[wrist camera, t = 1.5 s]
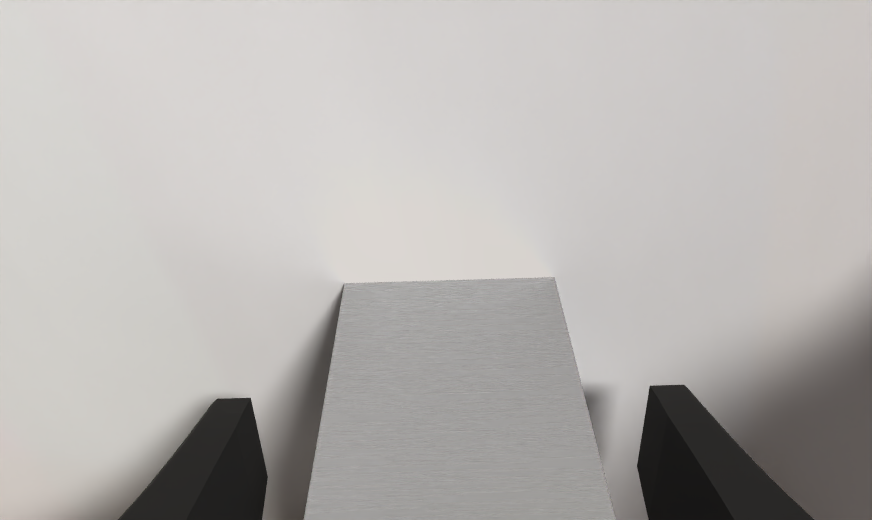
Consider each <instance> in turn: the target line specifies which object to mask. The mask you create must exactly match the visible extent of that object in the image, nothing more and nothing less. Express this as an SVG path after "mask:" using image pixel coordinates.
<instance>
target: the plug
mask: <svg viewBox="0 0 872 520" xmlns="http://www.w3.org/2000/svg"><path fill="white" fill-rule="evenodd" d="M304 520H616V518H615V514H614V510H613V506H612V502H611V498H610V494H609V490H608V486H607V482H606V478H605V474H604V471H603V467H602V463H601V459H600V455H599V451H598V447H597V443H596V439H595V435H594V431H593V427H592V423H591V419H590V415H589V411H588V407H587V404H586V400H585V396H584V392H583V388H582V384H581V380H580V376H579V372H578V368H577V364H576V360H575V356H574V352H573V348H572V344H571V341H570V337H569V333H568V329H567V325H566V321H565V317H564V313H563V309H562V305H561V301H560V297H559V293H558V289H557V285H556V281H555V277H549V278H515V279H481V280H446V281H412V282H378V283H344V289H343V294H342V300H341V306H340V312H339V318H338V323H337V329H336V335H335V341H334V347H333V353H332V358H331V364H330V370H329V376H328V382H327V387H326V393H325V399H324V405H323V411H322V417H321V422H320V428H319V434H318V440H317V446H316V451H315V457H314V463H313V469H312V475H311V480H310V486H309V492H308V498H307V504H306V510H305V515H304Z"/></svg>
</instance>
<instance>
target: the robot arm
mask: <svg viewBox="0 0 872 520" xmlns="http://www.w3.org/2000/svg"><path fill="white" fill-rule="evenodd" d="M637 468H638V472H639V477H640V482H641V487H642V492H643V496H644V501H645V505H646V509H647V514H648V518H649V520H814V519H813V518H812V517H811V516H810V515H809V514H808V513H806V512H805V511H804V510H803V509H802V508H801V507H800V506H799V505H798V504H797V503H796V502H795V501H794V500H793V499H791V498H790V497H789V496H788V495H787V494H786V493H785V492H784V491H783V490H782V489H781V488H780V487H779V486H778V485H777V484H776V483H775V482H774V481H773V480H772V479H771V478H770V477H769V476H768V475H767V474H766V473H765V472H764V471H763V470H762V469H761V468H760V467H759V466H758V465H757V464H756V463H755V462H754V461H753V460H752V459H751V458H750V457H749V456H748V455H747V454H746V453H745V451H744V450H743V449H742V448H741V447H740V446H739V445H738V444H737V443H736V442H735V441H734V440H733V439H732V437H731V436H730V435H729V434H728V433H727V432H726V431H725V430H724V429H723V428H722V426H721V425H720V424H719V423H718V422H717V421H716V420H715V419H714V417H713V416H712V415H711V414H710V413H709V412H708V411H707V410H706V408H705V407H704V406H703V405H702V404H701V403H700V402H699V400H698V399H697V398H696V397H695V396H694V395H693V394H692V393H691V391H690V390H689V389H688V388H687V387H686V386H685V385H662V386H650V389H649V395H648V401H647V408H646V414H645V420H644V426H643V433H642V439H641V445H640V451H639V458H638V464H637ZM267 478H268V476H267V472H266V467H265V462H264V458H263V453H262V448H261V444H260V439H259V434H258V430H257V425H256V421H255V416H254V411H253V407H252V402H251V398H232V399H217V400H216V401H215V402H214V403H212V405H211V406H210V407H209V409H208V410H207V411H206V413H205V414H204V415H203V417H202V418H201V419H200V421H199V422H198V423H197V425H196V426H195V427H194V429H193V430H192V431H191V433H190V434H189V435H188V437H187V438H186V439H185V440H184V442H183V443H182V444H181V446H180V447H179V448H178V449H177V451H176V452H175V453H174V455H173V456H172V457H171V458H170V460H169V461H168V462H167V463H166V465H165V466H164V467H163V468H162V469H161V471H160V472H159V473H158V474H157V476H156V477H155V478H154V479H153V480H152V482H151V483H150V484H149V485H148V486H147V488H146V489H145V490H144V491H143V492H142V494H141V495H140V496H139V497H138V498H137V499H136V500H135V502H134V503H133V504H132V505H131V506H130V507H129V508H128V509H127V510H126V512H125V513H124V514H123V515H122V516H121V517H120V518H119V519H118V520H262V514H263V507H264V500H265V493H266V485H267Z"/></svg>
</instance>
